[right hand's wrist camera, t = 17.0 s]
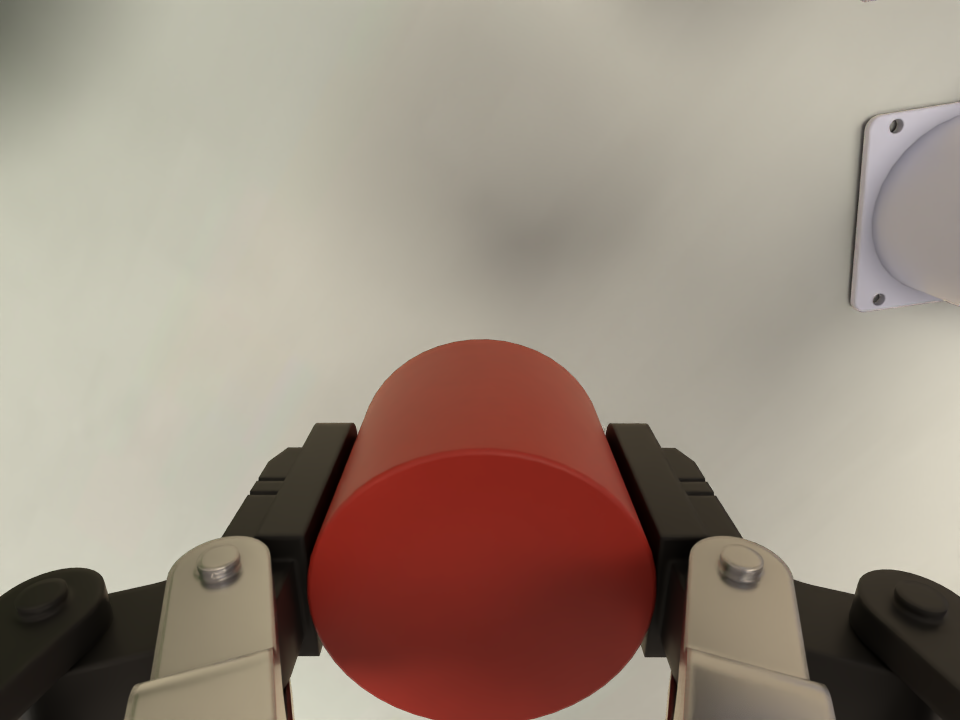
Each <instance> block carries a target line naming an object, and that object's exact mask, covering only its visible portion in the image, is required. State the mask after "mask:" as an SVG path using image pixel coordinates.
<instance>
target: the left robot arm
mask: <svg viewBox="0 0 960 720" xmlns="http://www.w3.org/2000/svg"><path fill="white" fill-rule="evenodd" d="M861 1H862V2H869V1H875V0H861ZM894 120H895V121H896V122H897V127H896V129H895V130H894V131H893V132H890V128H889V127H890V124H891V123H892V122H893V121H894ZM877 294H879V295H880V296H879V299H878V300H877V301H876V302H874V303H873V298H874V297H875V296H876V295H877ZM850 301H851V306H852V307H853V308H854V309H856V310H858V311H860V312H869V311H876V310H883V309H890V308H897V307H904V306H911V305H918V304H925V303H932V302H939V301H947V302H949V303H952V304H955V305H957V306H960V102H955V103H948V104H942V105H936V106H930V107H923V108H917V109H911V110H905V111H898V112H892V113H886V114H880V115H876V116H874V117H872V118H871V119H870V120H869V121H868V123H867V124H866V127H865V131H864V143H863V155H862V167H861V179H860V191H859V203H858V215H857V227H856V239H855V251H854V263H853V275H852V288H851V300H850Z"/></svg>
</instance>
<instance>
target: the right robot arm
mask: <svg viewBox="0 0 960 720" xmlns="http://www.w3.org/2000/svg"><path fill="white" fill-rule="evenodd" d="M356 438H357V430H356V426H355V424H354V423H316V424H315V425H314V427H313V429H312V431H311V432H310V434H309V436H308V438H307V440H306V442H305V443H304V445H303V447H302V448H287V449H285V450H284V451H283V452H281V453H280V454H278V455H277V456H276V457H274V458H273V459H272V460H270V461H269V462H268V464H267V465H266V467H265V468H264V470H263V472H262V473H261V475H260V476H259V480H258V481H256V483H255V484H254V486H253V488H252V489H251V491H250V495H248V496H247V497H246V499H245V500H244V502H243V504H242V505H241V507H240V509H239V510H238V512H237V513H236V515H235V517H234V518H233V520H232V521H231V523H230V525H229V526H228V528H227V529H226V531H225V533H224V534H223V536H222V537H221V538H218V539H214V540H211V541H208V542H205V543H203V544H201V545H199V546H197V547H195V548H193V549H191V550H190V551H188V552H187V553H185V554H184V555H183V556H182V557H180V558H179V559H178V560H177V561H176V562H175V564H174V565H173V566H172V568H171V569H170V571H169V573H168V576H167V580H165V581H162V582H159V583H155V584H151V585H146V586H142V587H137V588H133V589H128V590H124V591H119V592H114V593H110V594H108V593H107V589H106V586H105V582H104V580H103V577H102V576H101V575H100V574H99V573H97V572H96V571H94V570H91V569H87V568H66V569H60V570H55V571H51V572H48V573H45V574H41V575H39V576H36V577H34V578H31V579H29V580H27V581H25V582H23V583H21V584H19V585H17V586H16V587H14V588H12V589H11V590H9V591H8V592H6V593H5V594H3V595H2V596H1V597H0V720H295V719H294V707H293V696H292V688H291V681H290V677H291V674H292V671H293V668H294V665H295V662H296V659H297V657H298V656H320V652H321V649H322V646H323V644H322V642H321V640H320V638H319V636H318V634H317V632H316V630H315V627H314V624H313V620H312V617H311V614H310V610H309V603H308V597H307V573H308V567H309V561H310V556H311V553H312V551H313V548H314V545H315V542H316V540H317V537H318V534H319V532H320V529H321V527H322V524H323V522H324V519H325V517H326V514H327V512H328V509H329V506H330V504H331V501H332V499H333V496H334V494H335V491H336V489H337V486H338V484H339V481H340V479H341V476H342V473H343V471H344V468H345V466H346V463H347V461H348V458H349V456H350V453H351V451H352V448H353V446H354V443H355V440H356ZM606 439H607V441H608V444H609V446H610V449H611V451H612V454H613V456H614V458H615V461H616V463H617V466H618V468H619V471H620V473H621V476H622V478H623V481H624V483H625V486H626V488H627V491H628V493H629V496H630V498H631V501H632V503H633V506H634V508H635V511H636V513H637V516H638V518H639V521H640V523H641V526H642V528H643V531H644V533H645V536H646V538H647V541H648V543H649V546H650V548H651V551H652V554H653V559H654V563H655V568H656V579H657V593H656V601H655V608H654V612H653V616H652V619H651V623H650V626H649V628H648V631H647V633H646V635H645V637H644V639H643V641H642V643H641V647H642V650H643V653H644V656H645V657H667V660H668V662H669V665H670V668H671V675H670V681H669V687H668V696H667V707H666V719H665V720H960V597H959V596H958V595H956V594H955V593H954V592H952V591H951V590H949V589H947V588H945V587H944V586H942V585H940V584H938V583H936V582H934V581H931V580H929V579H927V578H924V577H921V576H918V575H915V574H912V573H908V572H903V571H897V570H874V571H871V572H868V573H866V574H864V575H863V576H862V577H861V578H860V580H859V582H858V585H857V588H856V592H855V594H850V593H846V592H841V591H837V590H832V589H827V588H823V587H818V586H814V585H810V584H806V583H802V582H799V581H797V580H794V579H793V577H792V573H791V571H790V569H789V568H788V566H787V565H786V564H785V562H784V561H783V560H782V559H781V558H780V557H778V556H777V555H776V554H775V553H773V552H772V551H770V550H769V549H767V548H765V547H763V546H761V545H759V544H757V543H755V542H752V541H749V540H746V539H743V538H742V536H741V535H740V533H739V531H738V530H737V528H736V527H735V525H734V523H733V522H732V520H731V519H730V517H729V516H728V514H727V512H726V511H725V509H724V508H723V506H722V504H721V503H720V501H719V500H718V498H717V497H716V496H714V492H713V490H712V489H711V487H710V485H709V484H708V482H705V478H704V476H703V474H702V473H701V471H700V470H699V468H698V466H697V465H696V463H695V462H694V461H692V460H691V459H690V458H688V457H687V456H686V455H684V454H683V453H681V452H680V451H679V450H677V449H676V448H661V447H660V445H659V443H658V441H657V439H656V438H655V436H654V434H653V432H652V430H651V429H650V427H649V425H648V424H637V423H610V424H609V425H608V427H607V430H606Z"/></svg>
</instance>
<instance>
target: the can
mask: <svg viewBox="0 0 960 720" xmlns="http://www.w3.org/2000/svg"><path fill="white" fill-rule="evenodd" d="M656 593H657V579H656V568H655V563H654V559H653V554H652V551H651V548H650V546H649V543H648V541H647V538H646V536H645V533H644V531H643V528H642V526H641V523H640V521H639V518H638V516H637V513H636V511H635V508H634V506H633V503H632V501H631V498H630V496H629V493H628V491H627V488H626V486H625V483H624V481H623V478H622V476H621V473H620V471H619V468H618V466H617V463H616V461H615V458H614V456H613V454H612V451H611V449H610V446H609V444H608V441H607V439H606V436H605V434H604V431H603V429H602V426H601V424H600V421H599V419H598V416H597V414H596V411H595V409H594V406H593V404H592V402H591V400H590V398H589V397H588V395H587V393H586V392H585V390H584V389H583V387H582V386H581V385H580V384H579V382H578V381H577V380H576V379H575V378H574V377H573V376H572V375H571V374H570V373H569V372H568V371H567V370H566V369H565V368H564V367H562V366H561V365H559V364H558V363H557V362H555V361H554V360H552V359H551V358H549V357H547V356H545V355H543V354H541V353H540V352H538V351H536V350H533V349H530V348H528V347H525V346H522V345H519V344H514V343H510V342H506V341H498V340H489V339H479V340H465V341H457V342H452V343H448V344H445V345H441V346H437V347H435V348H433V349H430V350H428V351H425V352H423V353H421V354H419V355H418V356H416V357H414V358H412V359H411V360H409V361H407V362H406V363H405V364H403V365H402V366H401V367H400V368H398V369H397V370H396V371H395V372H394V373H393V374H392V375H391V376H390V377H389V378H388V379H387V380H386V381H385V382H384V383H383V385H382V386H381V387H380V389H379V390H378V391H377V393H376V394H375V396H374V398H373V400H372V402H371V403H370V405H369V407H368V410H367V413H366V415H365V418H364V420H363V423H362V425H361V428H360V430H359V433H358V435H357V438H356V440H355V443H354V446H353V448H352V451H351V453H350V456H349V458H348V461H347V463H346V466H345V468H344V471H343V473H342V476H341V479H340V481H339V484H338V486H337V489H336V491H335V494H334V496H333V499H332V501H331V504H330V506H329V509H328V512H327V514H326V517H325V519H324V522H323V524H322V527H321V529H320V532H319V534H318V537H317V540H316V542H315V545H314V548H313V551H312V553H311V556H310V561H309V567H308V573H307V597H308V603H309V610H310V614H311V617H312V620H313V624H314V627H315V630H316V632H317V634H318V636H319V638H320V640H321V642H322V644H323V646H324V647H325V649H326V650H327V652H328V653H329V655H330V656H331V657H332V659H333V660H334V662H335V663H336V664H337V665H338V666H339V667H340V668H341V669H342V670H343V671H344V672H345V674H346V675H347V676H349V677H350V678H351V679H352V680H353V681H355V682H356V683H357V684H358V685H359V686H360V687H362V688H363V689H365V690H366V691H368V692H369V693H371V694H372V695H374V696H375V697H377V698H379V699H380V700H382V701H384V702H386V703H388V704H390V705H392V706H394V707H396V708H399V709H402V710H404V711H407V712H409V713H412V714H415V715H418V716H422V717H425V718H429V719H433V720H530V719H535V718H538V717H542V716H545V715H548V714H552V713H555V712H557V711H559V710H562V709H564V708H567V707H569V706H572V705H574V704H575V703H577V702H579V701H581V700H583V699H585V698H586V697H588V696H590V695H591V694H593V693H594V692H596V691H597V690H599V689H600V688H601V687H603V686H604V685H606V684H607V683H608V682H609V681H610V680H611V679H612V678H614V677H615V676H616V675H617V674H618V673H619V672H620V671H621V670H622V669H623V668H624V667H625V665H626V664H627V663H628V662H629V661H630V660H631V658H632V657H633V656H634V654H635V652H636V651H637V649H638V648H639V646H640V645H641V643H642V641H643V639H644V637H645V635H646V633H647V631H648V628H649V626H650V623H651V619H652V616H653V612H654V608H655V601H656Z"/></svg>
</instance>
